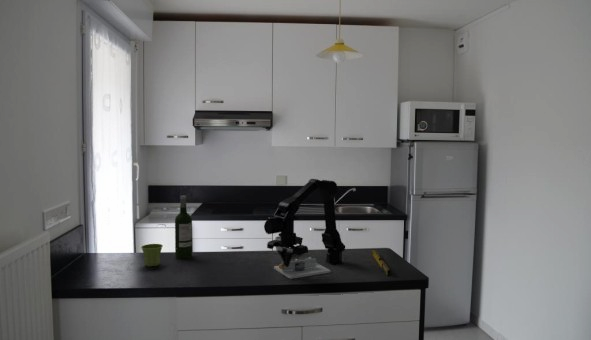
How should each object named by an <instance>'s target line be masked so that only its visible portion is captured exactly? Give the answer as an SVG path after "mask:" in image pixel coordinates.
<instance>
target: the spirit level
mask: <svg viewBox="0 0 591 340" xmlns="http://www.w3.org/2000/svg"><path fill="white" fill-rule="evenodd" d="M371 253H372V255H371V256H373V258H374V259H375V260H376V261H377V263H378V264H379V266H380V267H381V269H382V271H384V273H385V274H386V276H387V277H389V276H391V271H392V270H391V269H390V268H389V266H388V265H387V264H386V263H385V261H384V260H383V259H382V257H381V256H380V255H379V253H378V252H377V251H376V249H372V250H371Z"/></svg>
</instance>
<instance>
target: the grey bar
mask: <svg viewBox="0 0 591 340" xmlns="http://www.w3.org/2000/svg"><path fill="white" fill-rule="evenodd" d="M316 263H317V258H315V257H314V258H312V259H305V258H304V259H299V258H295V260H291V261H290V263H289V266H288V267H286V266H285V264H284V262H283V261H281V263H279V265H278V266H279V268H280V269H282V271H287V270H298V271H301V270H304V269H305V268H311V267H316Z"/></svg>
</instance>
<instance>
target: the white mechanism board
mask: <svg viewBox="0 0 591 340" xmlns="http://www.w3.org/2000/svg"><path fill="white" fill-rule="evenodd" d="M304 259H312V256H309V257H305V258H304ZM273 269H274V270H276V271H277V272H278V273H279V274H281V275H283V276H285V277H286V278H288V279H289V278H290V279H289V280H293V278H294V279H298V278H304V277H310V276H312V277H313V276H317V275H323V274H330V273H331V269H329V268H327V267H325V266H323V265H321V264H320V263H317V262H316V267H311V268H305V269H304V270H301V271H298V270H287V271H282V269H280V268H279V265H274V266H273Z"/></svg>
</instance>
